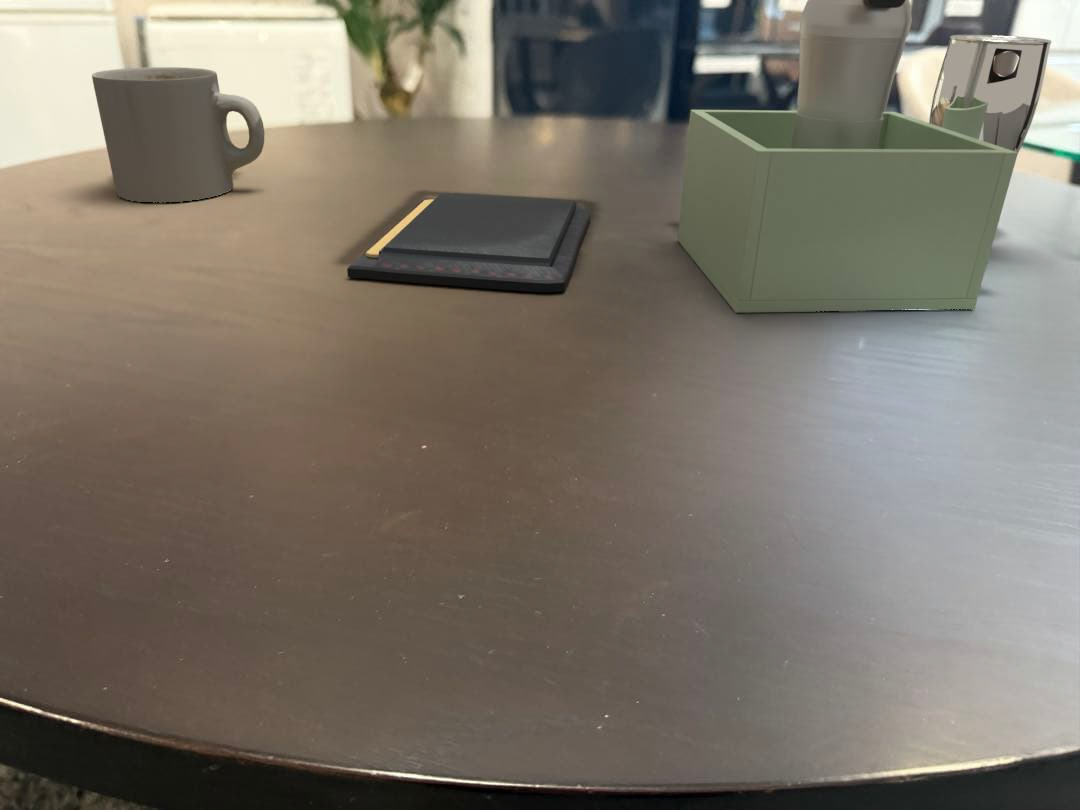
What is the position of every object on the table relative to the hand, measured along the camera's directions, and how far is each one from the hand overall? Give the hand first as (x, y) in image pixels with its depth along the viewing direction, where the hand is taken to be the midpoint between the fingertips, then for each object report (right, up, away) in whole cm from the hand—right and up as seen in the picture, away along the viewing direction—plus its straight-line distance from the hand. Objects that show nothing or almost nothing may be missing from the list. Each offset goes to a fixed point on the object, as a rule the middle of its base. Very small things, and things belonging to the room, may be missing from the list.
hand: (859, 4), depth 51 cm
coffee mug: (-51, -5, +25) cm, 57 cm away
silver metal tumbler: (+13, -12, +15) cm, 23 cm away
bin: (0, -15, +8) cm, 17 cm away
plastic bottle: (0, -14, +7) cm, 16 cm away
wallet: (-24, -13, +12) cm, 30 cm away
